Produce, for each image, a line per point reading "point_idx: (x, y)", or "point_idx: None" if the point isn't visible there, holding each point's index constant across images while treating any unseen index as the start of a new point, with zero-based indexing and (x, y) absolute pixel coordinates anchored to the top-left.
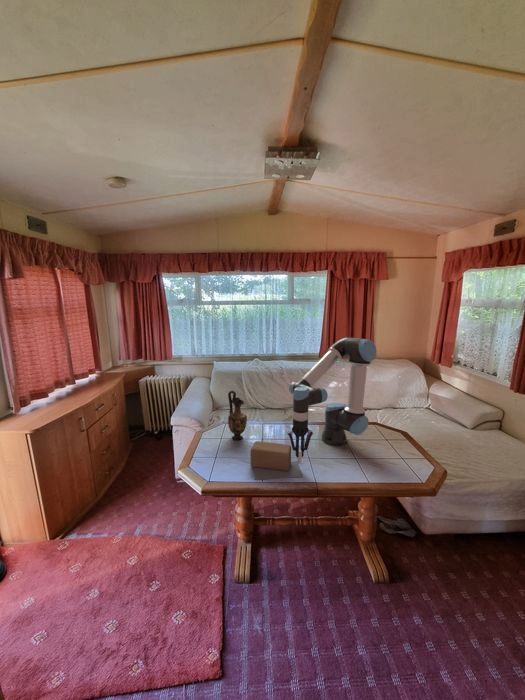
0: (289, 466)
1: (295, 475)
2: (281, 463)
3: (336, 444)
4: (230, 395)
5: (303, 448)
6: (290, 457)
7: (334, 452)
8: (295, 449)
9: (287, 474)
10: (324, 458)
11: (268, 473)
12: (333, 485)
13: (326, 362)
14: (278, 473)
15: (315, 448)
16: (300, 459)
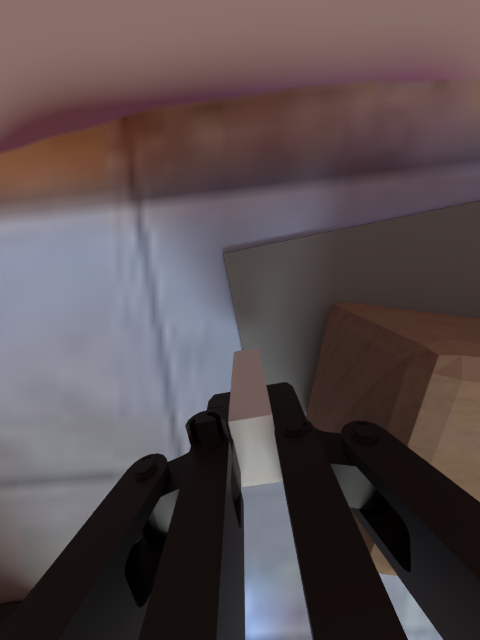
0: (324, 343)
1: (279, 261)
2: (422, 317)
3: (15, 610)
4: None
5: (192, 473)
6: (328, 418)
7: (29, 538)
8: (334, 448)
9: (337, 268)
10: (85, 476)
11: (477, 266)
12: (10, 171)
13: None
14: (402, 274)
15: None
16: (243, 367)
